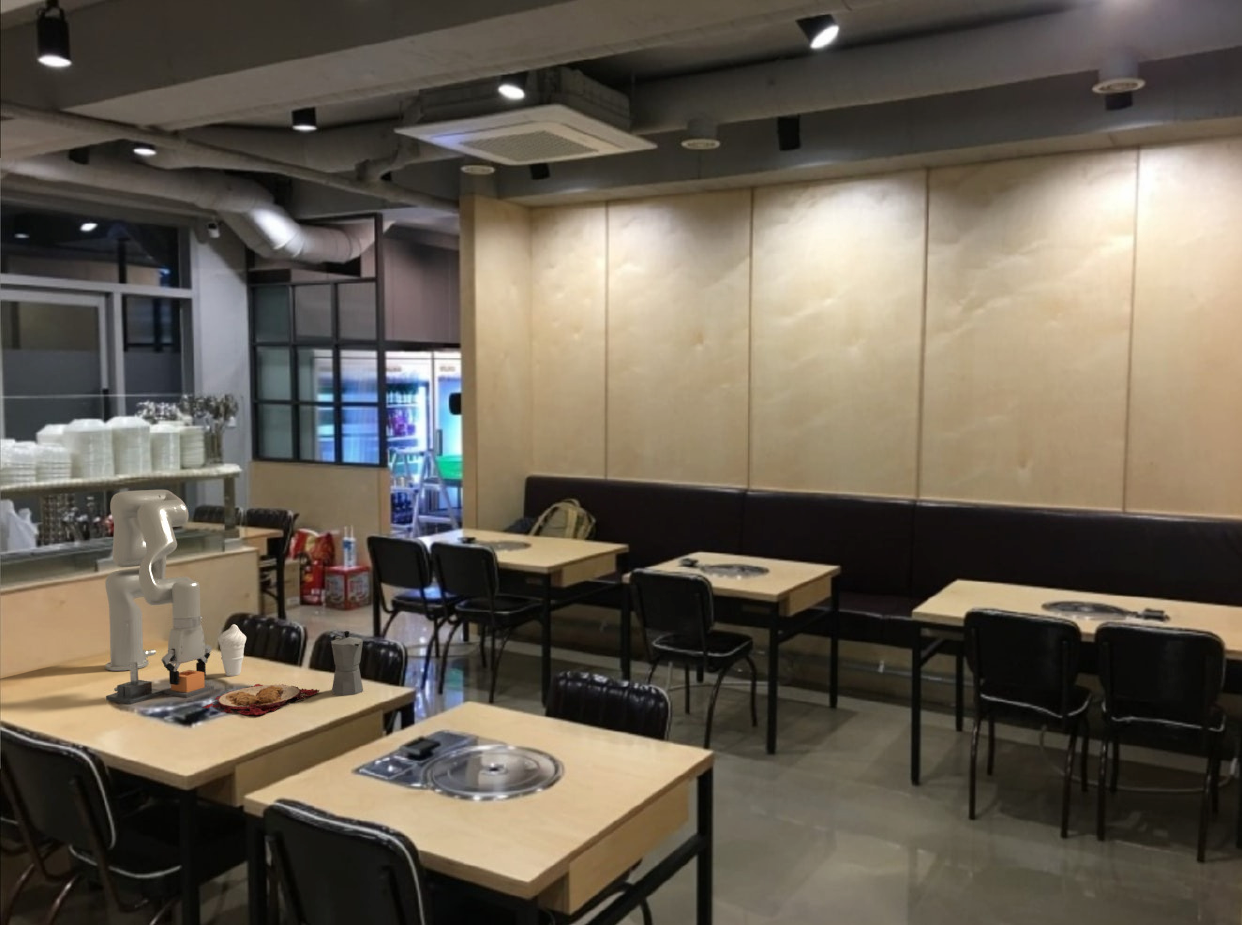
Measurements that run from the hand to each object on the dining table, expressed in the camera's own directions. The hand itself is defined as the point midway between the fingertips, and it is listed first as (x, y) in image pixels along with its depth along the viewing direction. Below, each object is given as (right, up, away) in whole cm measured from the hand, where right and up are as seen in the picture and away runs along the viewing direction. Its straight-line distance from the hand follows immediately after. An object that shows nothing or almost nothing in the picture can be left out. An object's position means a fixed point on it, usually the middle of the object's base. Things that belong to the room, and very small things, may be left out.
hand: (187, 680), depth 296 cm
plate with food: (+24, -5, -10) cm, 26 cm away
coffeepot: (+46, -3, +1) cm, 47 cm away
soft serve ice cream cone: (+6, -3, +20) cm, 21 cm away
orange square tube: (0, -2, 0) cm, 2 cm away
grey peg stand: (-13, -4, -6) cm, 15 cm away
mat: (0, -3, 0) cm, 3 cm away
